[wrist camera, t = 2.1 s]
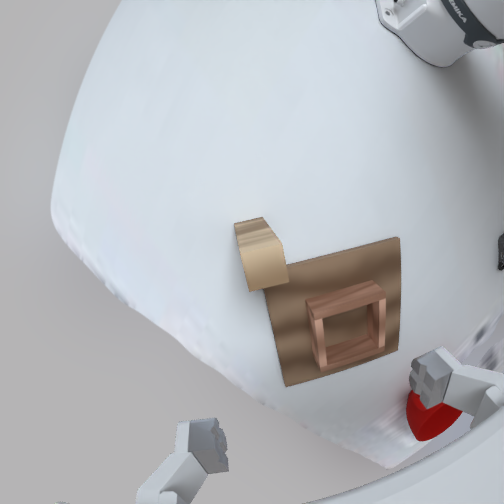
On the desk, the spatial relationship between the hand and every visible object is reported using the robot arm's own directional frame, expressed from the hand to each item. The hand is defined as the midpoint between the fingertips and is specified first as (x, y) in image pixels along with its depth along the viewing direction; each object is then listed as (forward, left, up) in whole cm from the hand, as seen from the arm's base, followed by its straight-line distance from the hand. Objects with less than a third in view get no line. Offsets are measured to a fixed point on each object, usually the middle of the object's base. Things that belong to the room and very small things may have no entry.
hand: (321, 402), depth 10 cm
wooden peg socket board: (+15, +10, -27) cm, 33 cm away
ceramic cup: (+40, +27, -27) cm, 55 cm away
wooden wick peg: (0, 0, -27) cm, 27 cm away
